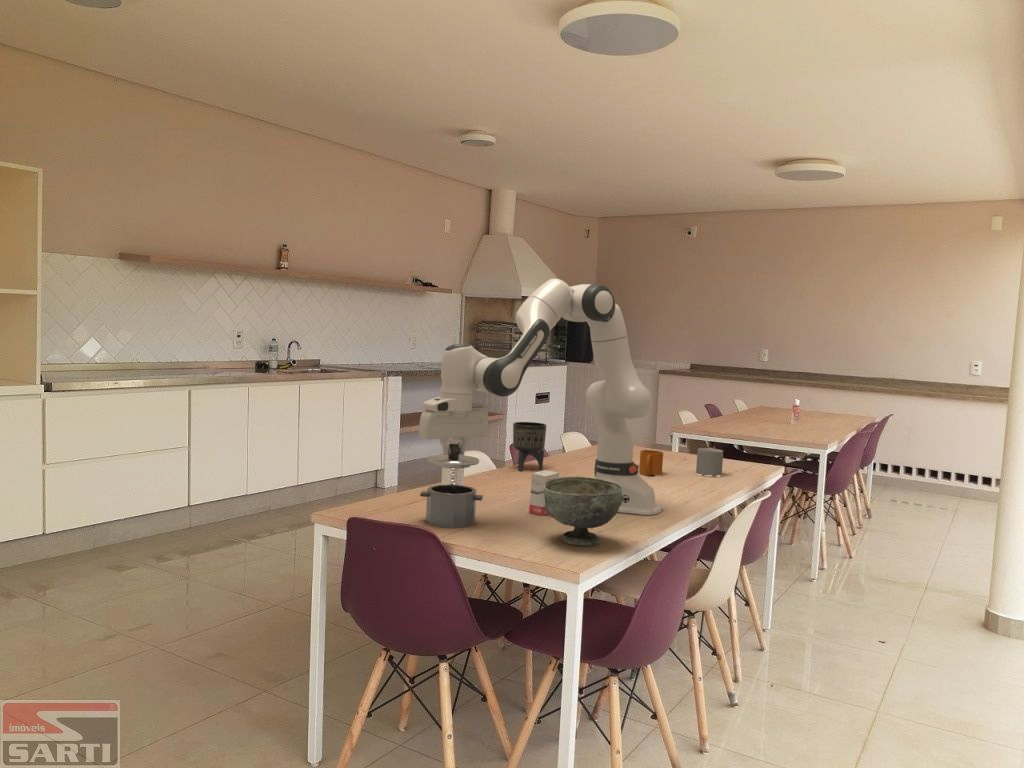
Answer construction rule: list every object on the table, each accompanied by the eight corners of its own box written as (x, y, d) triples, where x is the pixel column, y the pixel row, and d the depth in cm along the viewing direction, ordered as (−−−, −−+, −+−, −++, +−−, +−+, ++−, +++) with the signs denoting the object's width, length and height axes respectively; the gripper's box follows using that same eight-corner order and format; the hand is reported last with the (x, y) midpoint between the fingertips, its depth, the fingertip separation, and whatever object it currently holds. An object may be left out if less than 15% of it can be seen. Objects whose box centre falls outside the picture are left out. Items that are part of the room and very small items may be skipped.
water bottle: (445, 502, 239) (449, 420, 238) (437, 497, 245) (440, 418, 244) (466, 501, 242) (469, 420, 241) (457, 496, 248) (460, 417, 247)
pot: (484, 518, 221) (485, 486, 220) (477, 529, 208) (479, 496, 207) (425, 514, 223) (426, 482, 222) (415, 525, 210) (416, 491, 209)
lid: (486, 464, 219) (487, 443, 218) (467, 471, 205) (468, 449, 205) (440, 459, 223) (441, 438, 223) (418, 466, 210) (419, 444, 210)
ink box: (543, 516, 228) (545, 475, 227) (528, 513, 231) (530, 473, 230) (557, 511, 235) (559, 471, 234) (543, 508, 238) (545, 469, 237)
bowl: (531, 545, 196) (534, 485, 195) (555, 528, 214) (557, 473, 213) (608, 556, 189) (612, 494, 188) (626, 538, 207) (629, 482, 206)
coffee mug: (717, 478, 307) (719, 452, 306) (692, 474, 311) (694, 449, 311) (726, 473, 318) (728, 449, 317) (702, 470, 323) (704, 446, 322)
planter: (533, 473, 296) (535, 426, 295) (504, 469, 303) (506, 423, 302) (550, 469, 307) (552, 424, 306) (522, 465, 314) (524, 421, 313)
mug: (632, 475, 304) (633, 452, 304) (644, 471, 314) (645, 449, 314) (653, 478, 300) (655, 454, 299) (665, 474, 310) (666, 451, 309)
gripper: (482, 402, 222) (479, 451, 223) (417, 402, 210) (415, 454, 211) (494, 404, 217) (491, 454, 217) (428, 405, 205) (426, 457, 206)
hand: (453, 454), depth 214 cm, fingers closed on lid, 3 cm apart
